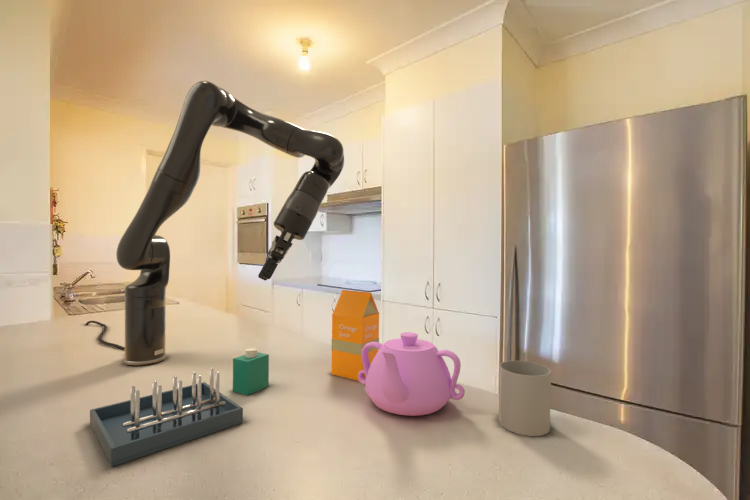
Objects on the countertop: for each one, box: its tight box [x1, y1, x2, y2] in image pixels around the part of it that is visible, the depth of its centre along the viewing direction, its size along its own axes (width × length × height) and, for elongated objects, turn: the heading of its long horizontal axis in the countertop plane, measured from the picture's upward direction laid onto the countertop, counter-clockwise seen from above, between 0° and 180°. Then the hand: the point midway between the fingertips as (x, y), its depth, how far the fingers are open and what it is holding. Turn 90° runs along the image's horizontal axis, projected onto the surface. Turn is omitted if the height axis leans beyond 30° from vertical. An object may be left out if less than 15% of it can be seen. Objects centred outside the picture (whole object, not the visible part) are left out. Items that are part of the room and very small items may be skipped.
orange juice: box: [331, 289, 380, 382], centre depth 93 cm, size 8×9×20 cm
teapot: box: [357, 331, 466, 417], centre depth 73 cm, size 22×22×14 cm
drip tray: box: [89, 381, 244, 468], centre depth 66 cm, size 17×19×3 cm
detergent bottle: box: [232, 347, 270, 396], centre depth 82 cm, size 4×6×8 cm
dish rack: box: [123, 367, 225, 441], centre depth 62 cm, size 3×15×9 cm, turn 135°
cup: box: [498, 360, 552, 437], centre depth 67 cm, size 8×8×10 cm
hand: (263, 278), depth 83 cm, fingers open, 8 cm apart
